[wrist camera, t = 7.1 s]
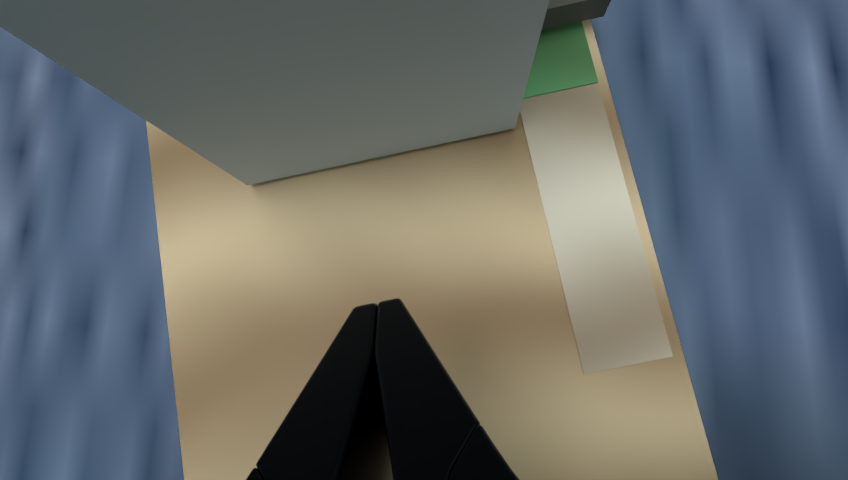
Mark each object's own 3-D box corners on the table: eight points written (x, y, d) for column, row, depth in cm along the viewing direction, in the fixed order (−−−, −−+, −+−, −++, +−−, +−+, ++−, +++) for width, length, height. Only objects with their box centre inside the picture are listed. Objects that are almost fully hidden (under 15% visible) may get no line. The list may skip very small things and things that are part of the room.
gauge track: (708, 499, 14) (729, 514, 13) (216, 588, 15) (195, 610, 13) (513, -215, 18) (516, -250, 17) (135, -124, 19) (115, -152, 18)
